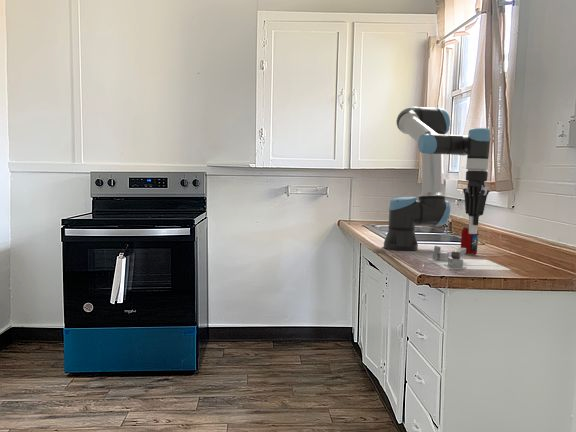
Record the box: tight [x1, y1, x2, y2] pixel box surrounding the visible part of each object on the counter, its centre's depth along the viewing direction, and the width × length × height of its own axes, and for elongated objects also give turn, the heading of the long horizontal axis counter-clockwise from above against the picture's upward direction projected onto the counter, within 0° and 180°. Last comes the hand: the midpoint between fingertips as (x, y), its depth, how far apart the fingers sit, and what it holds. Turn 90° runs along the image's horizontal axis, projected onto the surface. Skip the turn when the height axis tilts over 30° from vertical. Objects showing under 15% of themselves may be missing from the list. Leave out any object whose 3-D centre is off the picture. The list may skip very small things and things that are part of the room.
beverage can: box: [460, 225, 479, 255], centre depth 216 cm, size 7×7×12 cm
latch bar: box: [450, 247, 467, 258], centre depth 187 cm, size 16×3×2 cm, turn 151°
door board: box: [428, 258, 511, 271], centre depth 188 cm, size 20×24×1 cm
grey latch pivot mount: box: [444, 256, 467, 270], centre depth 182 cm, size 6×6×3 cm
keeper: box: [432, 245, 450, 261], centre depth 195 cm, size 4×5×5 cm
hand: (472, 233), depth 188 cm, fingers closed
